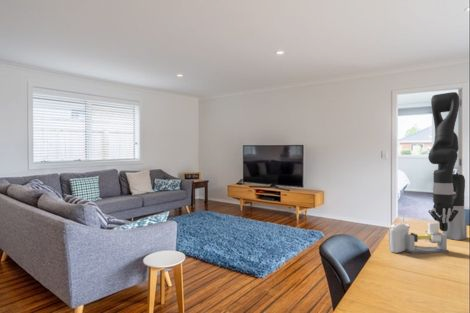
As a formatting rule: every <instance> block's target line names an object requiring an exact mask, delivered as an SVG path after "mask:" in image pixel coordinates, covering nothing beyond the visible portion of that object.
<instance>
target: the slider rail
mask: <svg viewBox="0 0 470 313" xmlns="http://www.w3.org/2000/svg"><path fill="white" fill-rule="evenodd" d="M440 233H441V243H436V244H437V245H436V246H422V247H421V246H420V247H419V246H418V247H415V243H418V240H420V241H421V240H426V239H431V235H426V234H416V233H414V232H410V234H409V233H408V234H406V250H404V252H407V253H410V255H419V254H441V253H442V254H444V253H445V254H447V253H449V249H447V242H448V241H447V240H448V238H447V237H446V235H445V234H443V232H440Z"/></svg>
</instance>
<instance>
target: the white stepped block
mask: <svg viewBox="0 0 470 313" xmlns="http://www.w3.org/2000/svg"><path fill="white" fill-rule="evenodd" d="M441 233H442V232H440V228H439V222H427V230H425V235H431V239H425V241H427V242H429V243H431V244H437V243H441Z"/></svg>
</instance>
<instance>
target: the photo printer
mask: <svg viewBox="0 0 470 313" xmlns="http://www.w3.org/2000/svg"><path fill="white" fill-rule="evenodd" d="M405 224H406V223H404V224H403V222H401V223H400V222H396V223H393V224H391V226H390V227H389V228H388V242H389V251H390V252H391V253H394V254H398V253H401V252H405V250H406V234H407V227H406V225H405Z"/></svg>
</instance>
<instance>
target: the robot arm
mask: <svg viewBox="0 0 470 313" xmlns="http://www.w3.org/2000/svg"><path fill="white" fill-rule="evenodd" d="M430 99H431V102H430V104H431V111H432V118H433V123H434V133H435V134H434V142H433V144H432V147H431V148H430V151H429V153H428V161H429V163H431V164H432V165H437V169H436V170H434V171H433V184H432V185H433V187H432V202H433V208H432V209H430V210H427V211H428V213H429V214H430V216H431V217H432V218H433V219H434V221H435V222H437V223H439V231H442V234H445V235H446V237H447V240H448V239H449V240H456V241H463V240H466V239H467V238H468V235H467V229H468V228H467V220H466V219H465V217H466V216H465V191H466V190H465V189H466V179H465V176H464V174H460V173H459V174H457V173H453V172H454V169H455V165H456V162H457V160H458V151H459V148H460V147H459V137H458V134H457V133H456V132H455V126H456V122H457V117H458V112H459V109H460V96H459V94H458V92H455V91H454V92H453V91H452V92H451V91H450V92H445V93H439V94H435V95H432V97H431V98H430ZM447 112H448V114H447V115H446V117H444V118H443V116H442V113H447ZM454 193H455V194H454Z"/></svg>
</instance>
